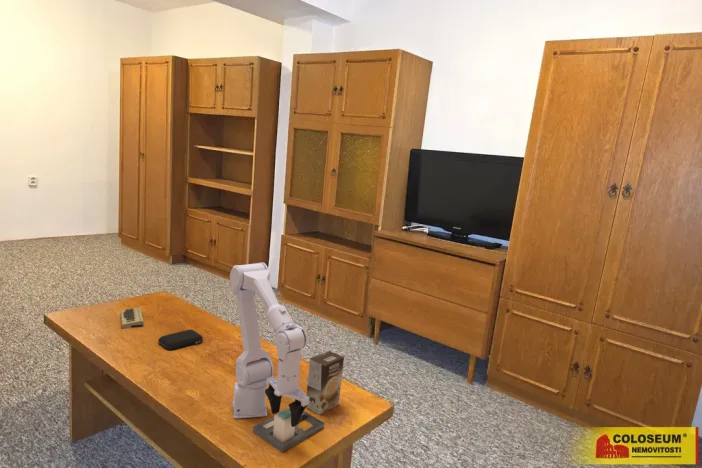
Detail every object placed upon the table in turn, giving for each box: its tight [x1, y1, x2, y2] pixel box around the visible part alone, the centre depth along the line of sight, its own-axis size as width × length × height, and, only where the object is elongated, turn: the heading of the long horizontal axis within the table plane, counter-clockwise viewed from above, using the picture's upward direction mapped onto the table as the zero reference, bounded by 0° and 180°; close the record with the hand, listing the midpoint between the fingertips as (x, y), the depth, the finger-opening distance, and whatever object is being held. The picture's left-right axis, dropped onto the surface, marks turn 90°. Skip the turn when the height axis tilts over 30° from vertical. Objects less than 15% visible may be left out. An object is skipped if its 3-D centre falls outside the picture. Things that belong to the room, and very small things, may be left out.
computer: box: [119, 307, 145, 330], centre depth 192 cm, size 16×8×3 cm, turn 28°
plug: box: [273, 408, 295, 443], centre depth 125 cm, size 4×4×8 cm
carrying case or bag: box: [157, 329, 204, 351], centre depth 177 cm, size 11×3×15 cm
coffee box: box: [305, 350, 345, 415], centre depth 143 cm, size 9×6×16 cm
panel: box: [252, 408, 325, 453], centre depth 130 cm, size 16×12×2 cm
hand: (285, 418), depth 125 cm, fingers open, 7 cm apart
